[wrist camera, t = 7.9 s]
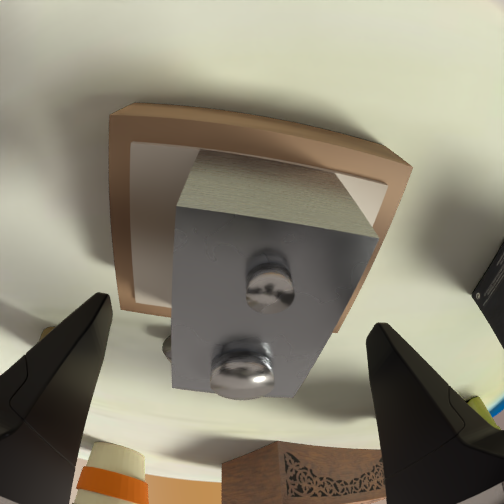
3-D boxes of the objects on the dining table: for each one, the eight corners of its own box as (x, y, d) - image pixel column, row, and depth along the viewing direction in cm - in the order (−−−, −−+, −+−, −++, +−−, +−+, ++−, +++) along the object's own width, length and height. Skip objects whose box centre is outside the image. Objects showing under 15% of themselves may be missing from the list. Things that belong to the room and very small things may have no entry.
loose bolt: (215, 374, 24) (214, 397, 22) (190, 376, 24) (188, 398, 22) (193, 331, 21) (191, 356, 19) (164, 334, 21) (160, 358, 19)
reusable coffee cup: (169, 458, 40) (163, 539, 28) (135, 465, 45) (128, 532, 33) (97, 432, 35) (82, 521, 22) (75, 442, 40) (62, 513, 27)
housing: (334, 173, 11) (389, 254, 7) (283, 320, 16) (295, 411, 11) (200, 148, 10) (170, 221, 6) (184, 309, 15) (170, 402, 11)
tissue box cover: (221, 462, 41) (221, 516, 33) (277, 439, 35) (282, 507, 26) (330, 472, 50) (336, 512, 42) (386, 448, 44) (397, 494, 35)
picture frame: (326, 297, 19) (338, 336, 17) (134, 273, 18) (119, 313, 15) (384, 146, 14) (415, 169, 11) (134, 102, 12) (106, 116, 9)
